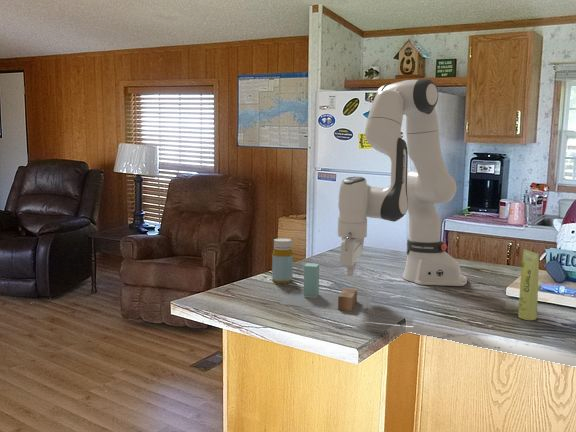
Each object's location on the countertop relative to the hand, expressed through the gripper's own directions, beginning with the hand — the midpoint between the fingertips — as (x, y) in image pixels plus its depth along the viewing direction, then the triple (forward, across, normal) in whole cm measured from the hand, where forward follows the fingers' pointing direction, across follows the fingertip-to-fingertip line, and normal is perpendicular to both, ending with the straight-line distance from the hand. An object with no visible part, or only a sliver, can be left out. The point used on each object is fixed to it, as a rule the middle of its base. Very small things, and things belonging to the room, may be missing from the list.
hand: (351, 274), depth 178 cm
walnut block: (+6, 0, 0) cm, 6 cm away
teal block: (+8, +2, +13) cm, 15 cm away
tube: (+9, 0, -51) cm, 52 cm away
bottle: (+9, +17, +27) cm, 33 cm away
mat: (+9, -2, +7) cm, 11 cm away
